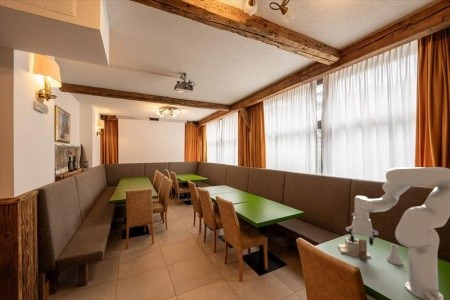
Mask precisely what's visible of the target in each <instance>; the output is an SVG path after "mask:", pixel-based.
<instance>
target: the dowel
mask: <svg viewBox="0 0 450 300" xmlns="http://www.w3.org/2000/svg"><path fill="white" fill-rule="evenodd" d="M358 239H359V257H358V259H359V260H360V261H362V262H367V261H368V258H367V252H368V249H367V242H368V241H367V239H364V238H358Z"/></svg>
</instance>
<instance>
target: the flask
mask: <svg viewBox="0 0 450 300" xmlns="http://www.w3.org/2000/svg"><path fill="white" fill-rule="evenodd" d="M386 260H387V262H388V263H390V264H392V265H396V266H403V265H404V263H403V261H402V259H401V257H400V255H399V252H398V245H396V244H390V252H389V254H388V256H387V258H386Z"/></svg>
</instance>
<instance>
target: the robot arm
mask: <svg viewBox="0 0 450 300" xmlns="http://www.w3.org/2000/svg"><path fill="white" fill-rule="evenodd" d="M385 178H386V181H385V182H384V184H382V187H381V188H382V190H383V191H384V192H385V193H384V194H383V195H381V197H380V198H369V197H367V196H365V195H356V196H355V197H354V212H352V213H351V215H352V216H353V217H352V221H351V222H352V223H351V225H349V226H346V227H345V230H346V232H347V234H348V235H349V238H350V240H351V241H352V243H354V239H355V237H354V236H355V235H356V236H357V235H358V236H364V237H368V243H369V245H370V246H373V244H374V239H375V238H377V236H378V235H379V232H378V231H377V230H375V229H373V225H372V220H371V218H370V213H381V212H386V211H390V210H391V208H393V207H394V206H396V205H397V203H398V202H399V200H400V196H401V195H402V194H404V193H405V192H407V190H409V189H410V188H411V187H421V188H425V187H427V188H428V187H435V188H433V190H432V191H431V192H430V193H429V194H428V196H427V198H426V199H425V201H424V203H423V204H422V205H419V206H412V207H409V208H408V209H406V210H405V211H404V212H403V214H402V216H401V218H400V220H399V222H398V224H397V226H396V228H395V231H394V235H395V238H396V241H397V242H398V243H399V244H400V245H402V246H404V247H406V248H408V281H407V282H405V284H404V288H405V289H406V290H407V291H408V292H409V293H410V294H412V295H413V296H415V297H417V298H420V299H422V300H445V299H444V295H443V294H442V293H441V292H439V272H438V251H439V245H440V236H439V234H438V232H437V231H436V228H442V227H443V226H445V225H446V223H447V222H448V220H449V218H450V168H447V167H441V166H431V167H430V166H429V167H428V166H427V167H425V166H423V167H419V166H418V167H392V168H390V169H388V170H387V172H386V173H385ZM350 230H351V231H350Z"/></svg>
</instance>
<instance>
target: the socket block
mask: <svg viewBox="0 0 450 300" xmlns="http://www.w3.org/2000/svg"><path fill="white" fill-rule="evenodd" d="M359 239H360V238H354V243H352V241H351V240H350V237H346V236H345V237H344V244H342V243H337V247H338V249H339V251H340V253H341V254H342V255H347V256H353V257H357V258H359ZM367 259H372V256H371V254H370V253H369V252H368V251H367Z"/></svg>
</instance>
